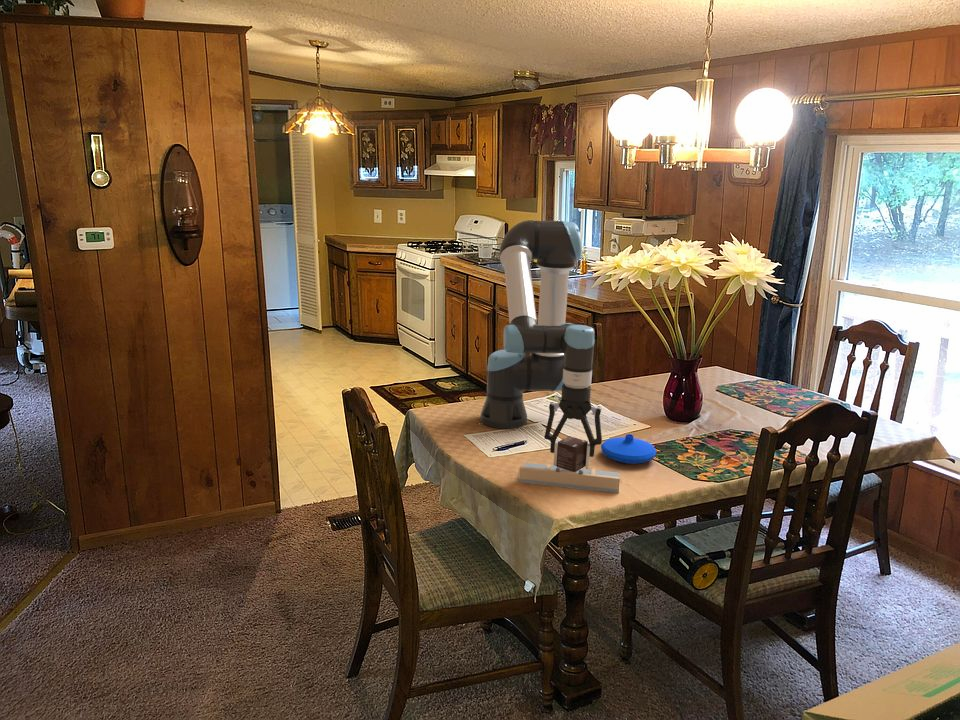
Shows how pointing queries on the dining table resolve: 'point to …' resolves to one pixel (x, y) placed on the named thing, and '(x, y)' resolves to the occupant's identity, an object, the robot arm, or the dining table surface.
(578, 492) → the dining table surface
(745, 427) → the dining table surface
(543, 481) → the board
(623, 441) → the blue knobbed lid
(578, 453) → the box
